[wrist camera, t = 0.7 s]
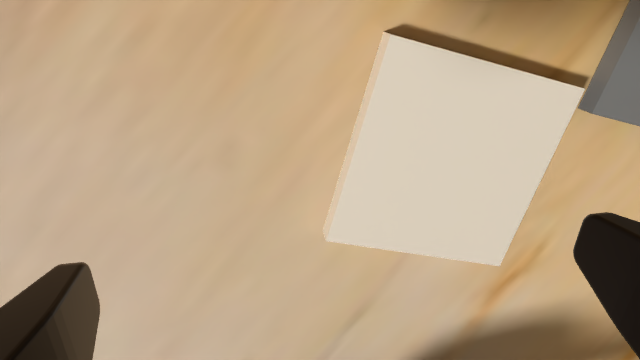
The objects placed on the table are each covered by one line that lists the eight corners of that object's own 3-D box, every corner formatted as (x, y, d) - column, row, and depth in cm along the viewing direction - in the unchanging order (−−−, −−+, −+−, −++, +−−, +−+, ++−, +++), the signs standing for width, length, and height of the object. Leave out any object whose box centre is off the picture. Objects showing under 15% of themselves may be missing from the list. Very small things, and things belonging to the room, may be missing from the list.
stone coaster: (490, 256, 26) (499, 266, 25) (322, 230, 23) (326, 241, 22) (570, 84, 22) (585, 88, 21) (383, 31, 20) (390, 34, 19)
